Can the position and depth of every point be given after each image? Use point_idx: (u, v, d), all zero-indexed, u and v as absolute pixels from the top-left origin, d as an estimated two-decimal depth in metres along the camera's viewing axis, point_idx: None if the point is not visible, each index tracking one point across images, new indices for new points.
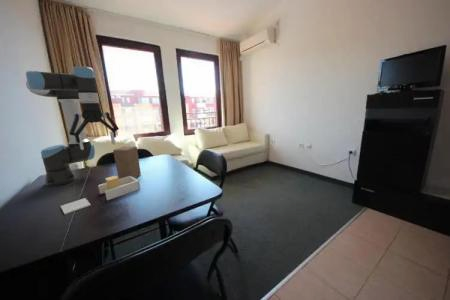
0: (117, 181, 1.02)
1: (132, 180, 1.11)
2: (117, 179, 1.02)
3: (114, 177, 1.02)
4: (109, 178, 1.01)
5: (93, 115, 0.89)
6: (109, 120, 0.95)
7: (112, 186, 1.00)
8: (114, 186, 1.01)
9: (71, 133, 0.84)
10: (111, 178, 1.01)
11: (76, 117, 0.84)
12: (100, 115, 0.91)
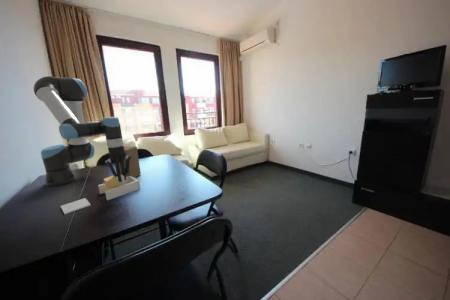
0: (115, 181, 1.01)
1: (132, 180, 1.11)
2: (115, 179, 1.01)
3: (112, 177, 1.02)
4: (107, 178, 1.01)
5: (118, 156, 1.02)
6: (126, 162, 1.06)
7: (111, 186, 1.00)
8: (113, 186, 1.01)
9: (115, 175, 1.02)
10: (109, 178, 1.00)
11: (108, 164, 0.99)
12: (123, 155, 1.04)
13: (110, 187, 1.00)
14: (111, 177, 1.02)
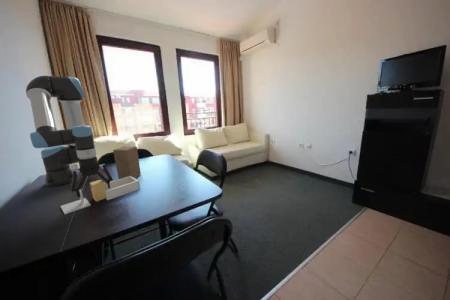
0: (102, 186, 0.97)
1: (132, 180, 1.11)
2: (102, 184, 0.96)
3: (99, 181, 0.97)
4: (94, 182, 0.96)
5: (90, 169, 0.93)
6: (105, 172, 0.98)
7: (97, 191, 0.95)
8: (99, 191, 0.96)
9: (72, 190, 0.89)
10: (96, 182, 0.96)
11: (74, 174, 0.88)
12: (97, 167, 0.95)
13: (96, 192, 0.95)
14: (98, 181, 0.97)
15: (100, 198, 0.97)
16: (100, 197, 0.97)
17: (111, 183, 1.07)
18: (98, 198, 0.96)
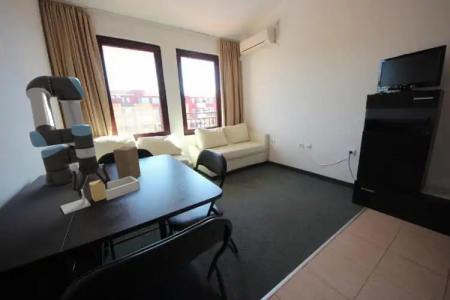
0: (101, 186, 0.96)
1: (132, 180, 1.11)
2: (101, 184, 0.96)
3: (98, 182, 0.97)
4: (93, 183, 0.96)
5: (89, 168, 0.93)
6: (103, 172, 0.98)
7: (96, 191, 0.95)
8: (98, 191, 0.96)
9: (74, 189, 0.89)
10: (95, 183, 0.96)
11: (74, 174, 0.88)
12: (96, 167, 0.95)
13: (95, 192, 0.95)
14: (97, 181, 0.97)
15: (99, 198, 0.96)
16: (99, 197, 0.96)
17: (111, 183, 1.07)
18: (97, 198, 0.96)
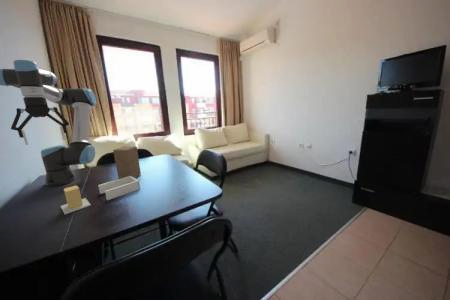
0: (77, 192, 0.89)
1: (132, 180, 1.11)
2: (77, 190, 0.89)
3: (74, 187, 0.89)
4: (68, 189, 0.88)
5: (38, 110, 0.88)
6: (58, 115, 0.93)
7: (71, 198, 0.87)
8: (74, 198, 0.88)
9: (12, 128, 0.82)
10: (70, 189, 0.88)
11: (18, 111, 0.83)
12: (46, 110, 0.90)
13: (70, 199, 0.87)
14: (73, 187, 0.90)
15: (75, 205, 0.89)
16: (75, 204, 0.89)
17: (111, 183, 1.07)
18: (72, 205, 0.88)
